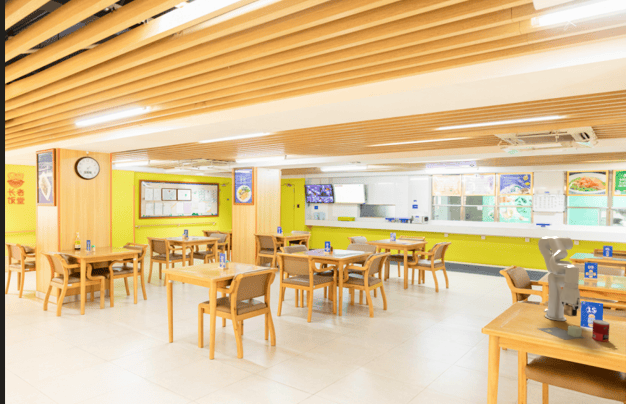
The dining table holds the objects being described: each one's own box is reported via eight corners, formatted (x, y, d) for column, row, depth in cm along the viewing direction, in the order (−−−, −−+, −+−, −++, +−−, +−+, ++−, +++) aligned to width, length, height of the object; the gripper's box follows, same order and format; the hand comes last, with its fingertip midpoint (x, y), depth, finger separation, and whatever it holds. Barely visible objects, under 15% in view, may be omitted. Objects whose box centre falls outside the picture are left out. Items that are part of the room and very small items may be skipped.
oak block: (563, 314, 258) (564, 305, 258) (569, 314, 260) (570, 304, 260) (570, 316, 254) (571, 307, 254) (576, 316, 255) (577, 306, 255)
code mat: (536, 329, 253) (536, 328, 253) (556, 327, 258) (556, 327, 258) (565, 340, 234) (565, 339, 234) (586, 338, 239) (586, 337, 239)
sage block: (567, 334, 244) (567, 326, 244) (573, 333, 246) (574, 325, 246) (575, 337, 240) (575, 328, 240) (581, 336, 241) (581, 328, 241)
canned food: (605, 343, 231) (606, 324, 231) (589, 339, 238) (590, 320, 238) (610, 341, 236) (611, 322, 236) (595, 337, 242) (595, 319, 242)
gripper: (555, 283, 264) (554, 311, 264) (579, 288, 247) (578, 318, 247) (564, 282, 266) (562, 310, 266) (588, 288, 250) (587, 317, 250)
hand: (570, 314), depth 257 cm, fingers closed on oak block, 5 cm apart
